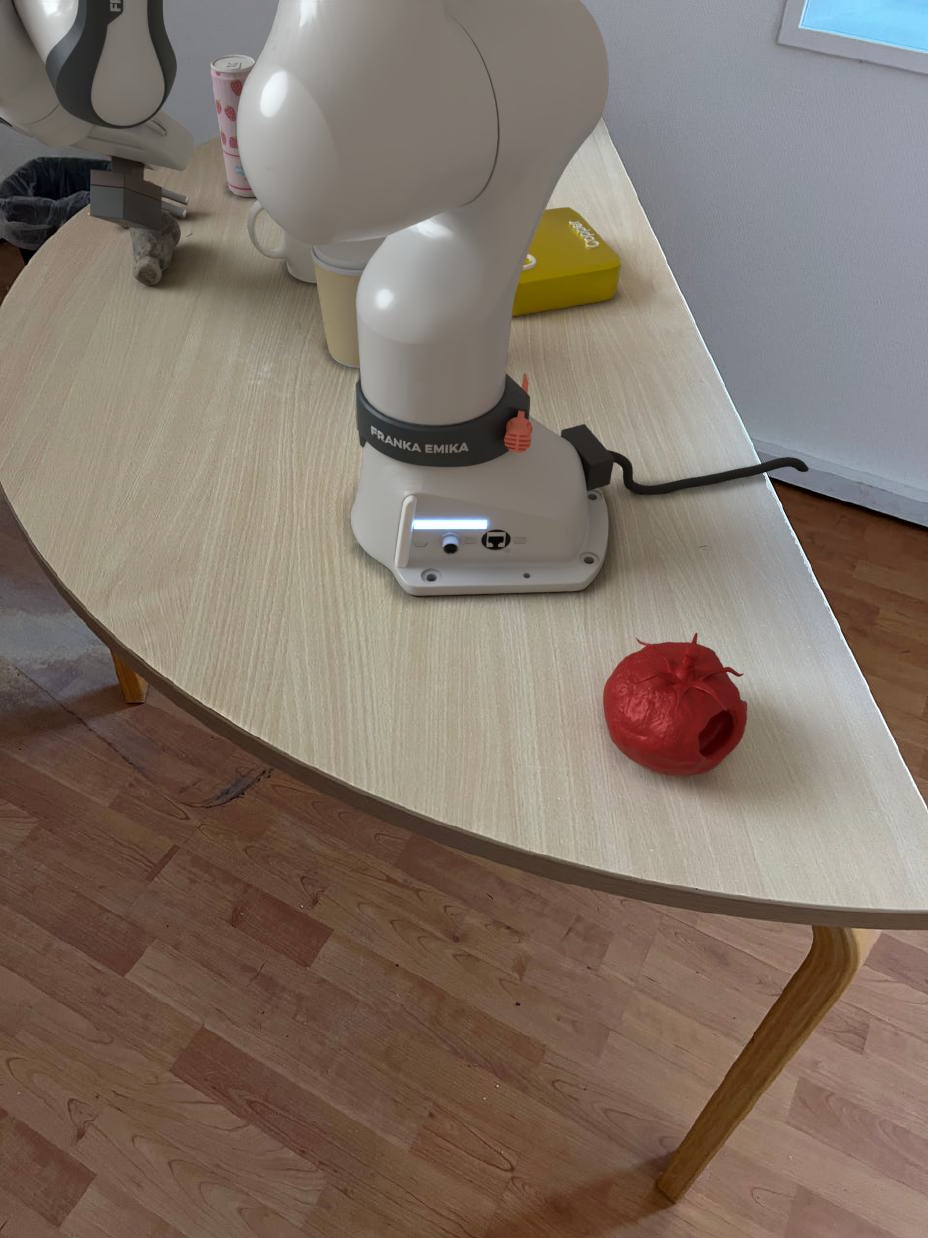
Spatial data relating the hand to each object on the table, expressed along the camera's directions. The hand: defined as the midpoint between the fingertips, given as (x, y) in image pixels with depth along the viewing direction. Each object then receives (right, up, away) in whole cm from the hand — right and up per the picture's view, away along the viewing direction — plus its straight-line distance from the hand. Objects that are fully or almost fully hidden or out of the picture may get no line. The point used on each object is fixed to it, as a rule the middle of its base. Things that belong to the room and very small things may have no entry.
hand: (138, 159), depth 99 cm
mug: (+16, -8, +9) cm, 21 cm away
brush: (-1, -7, 0) cm, 7 cm away
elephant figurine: (-4, +2, +17) cm, 18 cm away
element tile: (+44, -9, +10) cm, 46 cm away
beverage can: (+7, +7, +23) cm, 25 cm away
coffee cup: (+24, -21, -1) cm, 32 cm away
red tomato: (+50, -58, -32) cm, 83 cm away
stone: (-1, -8, +9) cm, 12 cm away
